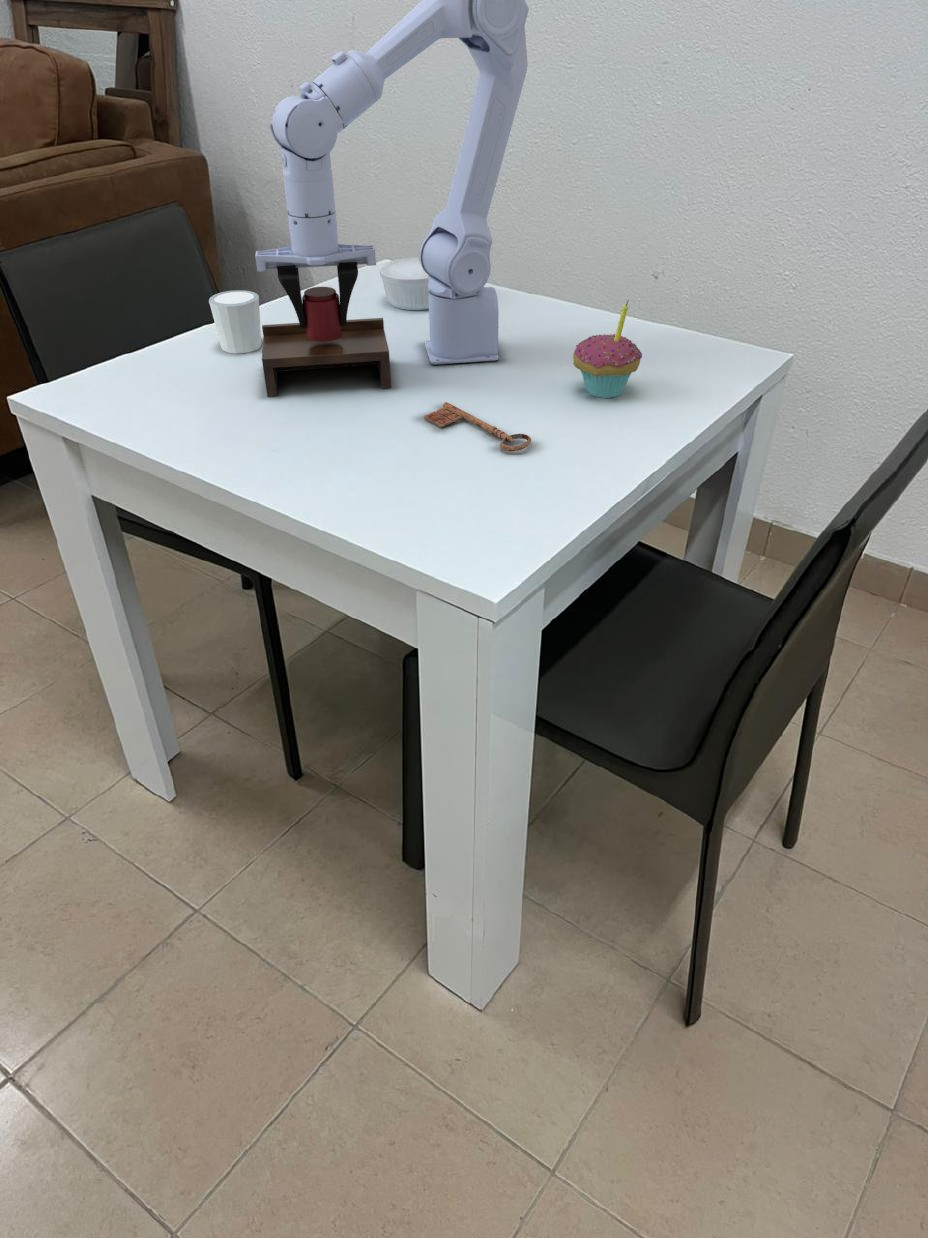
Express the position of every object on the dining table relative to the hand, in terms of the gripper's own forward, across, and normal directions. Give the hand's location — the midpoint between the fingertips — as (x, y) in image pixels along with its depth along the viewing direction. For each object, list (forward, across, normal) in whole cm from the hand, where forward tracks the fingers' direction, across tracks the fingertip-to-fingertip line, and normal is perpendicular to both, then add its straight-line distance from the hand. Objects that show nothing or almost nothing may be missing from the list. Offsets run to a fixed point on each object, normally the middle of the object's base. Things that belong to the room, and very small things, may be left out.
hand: (323, 324), depth 118 cm
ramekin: (+8, +15, +29) cm, 34 cm away
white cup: (+8, -12, +14) cm, 20 cm away
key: (+7, +17, -19) cm, 27 cm away
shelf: (+7, 0, 0) cm, 7 cm away
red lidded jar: (+1, 0, 0) cm, 1 cm away
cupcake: (+8, +35, -10) cm, 37 cm away
